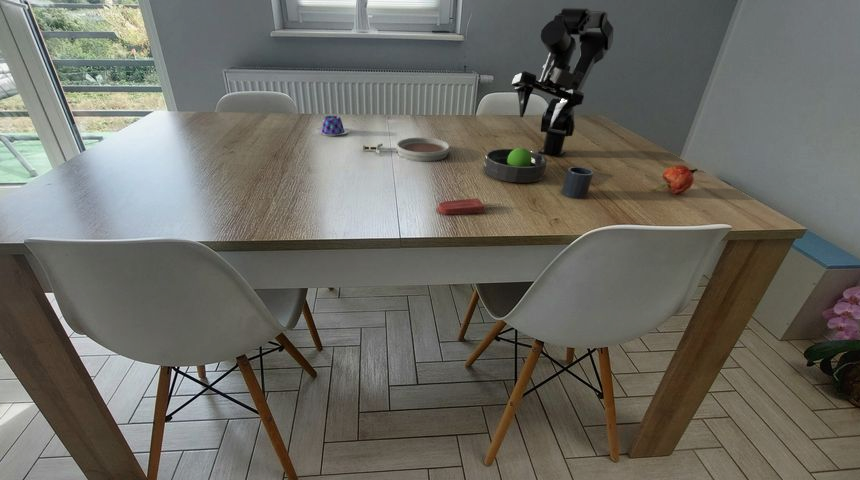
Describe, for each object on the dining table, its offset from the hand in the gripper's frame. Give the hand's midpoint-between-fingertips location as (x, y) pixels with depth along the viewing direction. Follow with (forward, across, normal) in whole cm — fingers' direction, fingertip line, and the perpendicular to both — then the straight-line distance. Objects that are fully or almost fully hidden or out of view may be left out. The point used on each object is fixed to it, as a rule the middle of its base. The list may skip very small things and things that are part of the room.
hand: (536, 122), depth 110 cm
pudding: (+16, -52, +43) cm, 70 cm away
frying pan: (+17, -29, +20) cm, 39 cm away
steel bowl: (+14, -2, 0) cm, 14 cm away
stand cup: (+16, +9, -15) cm, 24 cm away
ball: (+11, -1, -1) cm, 11 cm away
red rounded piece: (+9, +34, -16) cm, 38 cm away
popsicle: (+27, -18, -21) cm, 38 cm away
